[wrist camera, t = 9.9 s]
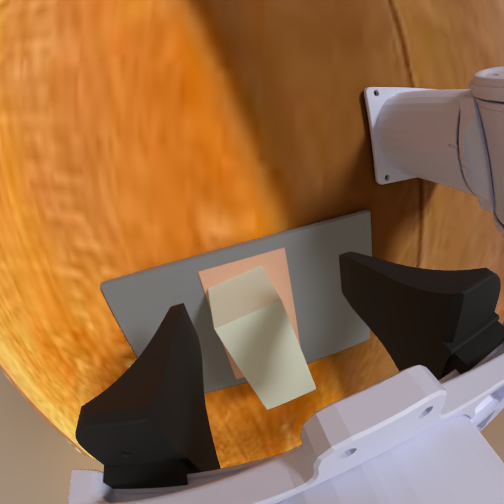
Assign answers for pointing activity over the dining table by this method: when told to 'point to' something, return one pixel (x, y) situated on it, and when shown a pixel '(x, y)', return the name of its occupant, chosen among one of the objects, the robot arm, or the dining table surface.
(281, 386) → the block
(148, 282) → the mat
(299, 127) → the dining table surface
